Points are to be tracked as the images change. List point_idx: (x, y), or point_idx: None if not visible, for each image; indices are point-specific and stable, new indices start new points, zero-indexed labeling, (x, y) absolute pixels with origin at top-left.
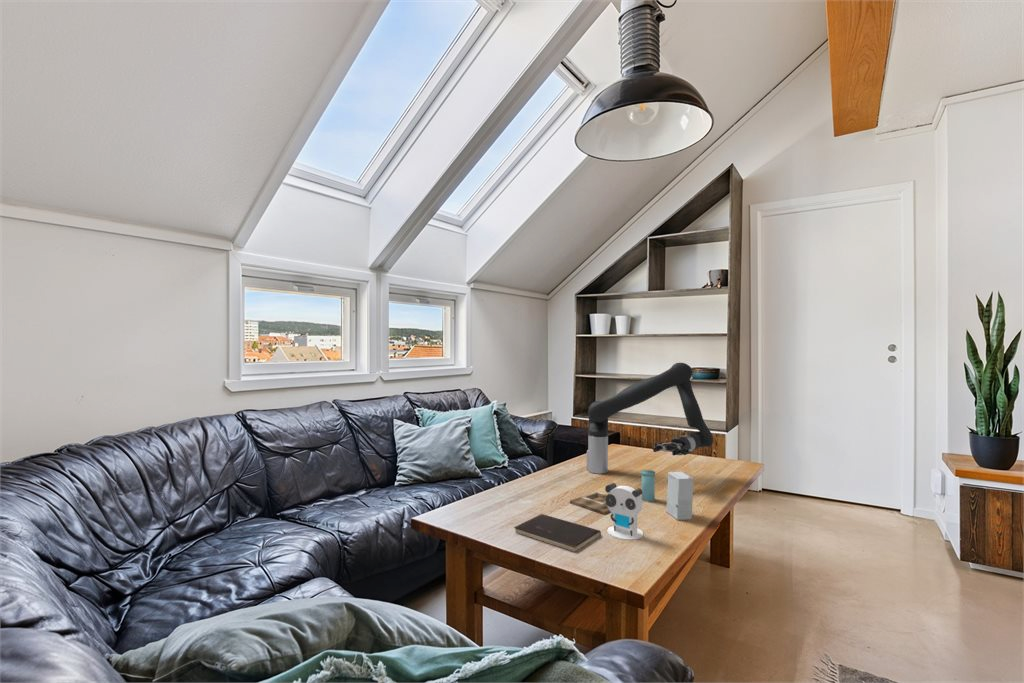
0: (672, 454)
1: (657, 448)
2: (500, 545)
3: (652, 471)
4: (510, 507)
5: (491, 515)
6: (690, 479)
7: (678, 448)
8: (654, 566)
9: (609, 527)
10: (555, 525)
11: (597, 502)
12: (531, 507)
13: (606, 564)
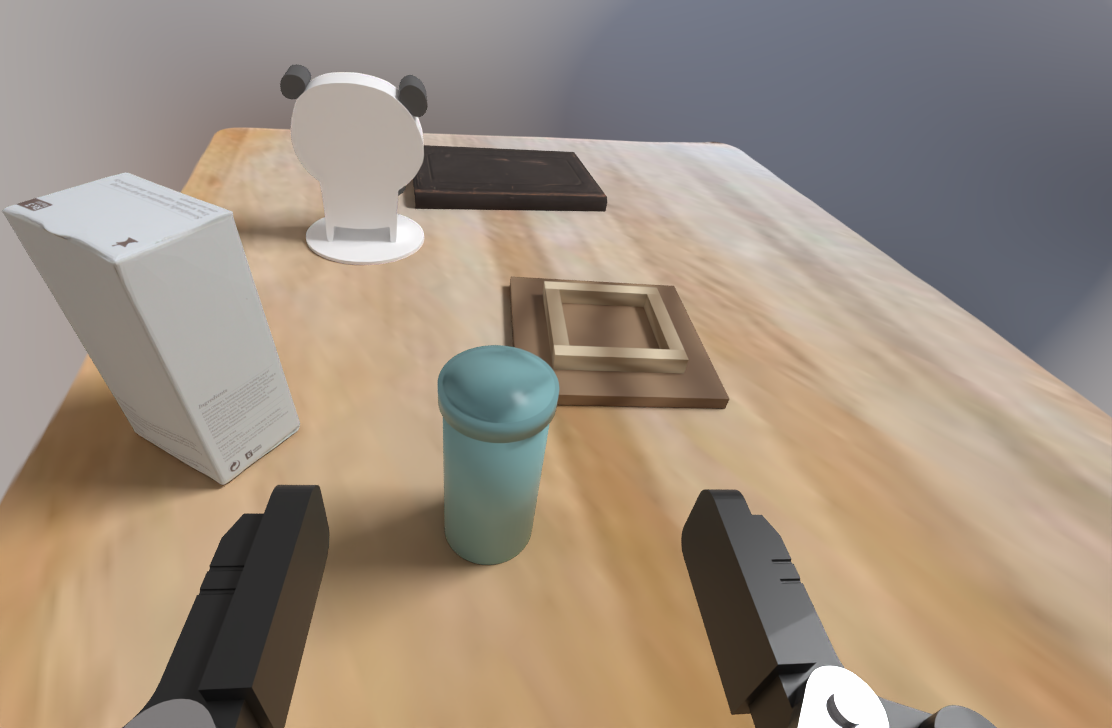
0: (323, 529)
1: (723, 597)
2: (537, 139)
3: (478, 408)
4: (720, 216)
5: (687, 184)
6: (32, 203)
7: (192, 700)
8: (218, 171)
9: (423, 233)
10: (521, 175)
11: (569, 283)
12: (694, 234)
13: None
